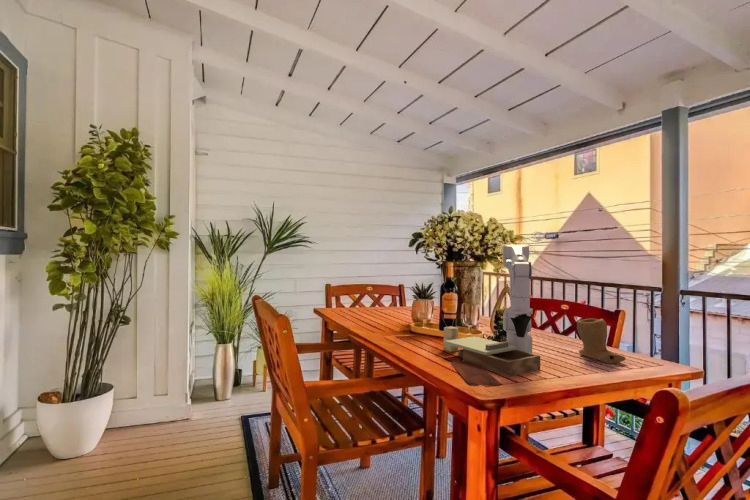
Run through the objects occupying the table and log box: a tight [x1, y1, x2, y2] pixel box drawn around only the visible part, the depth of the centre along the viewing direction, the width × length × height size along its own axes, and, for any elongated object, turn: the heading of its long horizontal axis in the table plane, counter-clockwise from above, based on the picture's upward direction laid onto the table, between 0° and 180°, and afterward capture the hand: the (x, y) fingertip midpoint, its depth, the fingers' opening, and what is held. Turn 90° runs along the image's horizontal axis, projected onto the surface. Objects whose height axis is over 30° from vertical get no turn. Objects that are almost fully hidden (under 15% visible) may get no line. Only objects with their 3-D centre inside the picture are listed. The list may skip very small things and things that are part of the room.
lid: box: [445, 335, 517, 355], centre depth 149 cm, size 16×20×3 cm
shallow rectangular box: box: [457, 348, 541, 377], centre depth 144 cm, size 16×27×4 cm, turn 33°
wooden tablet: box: [450, 360, 501, 387], centre depth 132 cm, size 27×10×2 cm, turn 3°
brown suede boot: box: [576, 318, 627, 364], centre depth 151 cm, size 15×12×15 cm
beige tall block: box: [443, 325, 459, 353], centre depth 162 cm, size 4×4×9 cm
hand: (520, 336), depth 139 cm, fingers closed
